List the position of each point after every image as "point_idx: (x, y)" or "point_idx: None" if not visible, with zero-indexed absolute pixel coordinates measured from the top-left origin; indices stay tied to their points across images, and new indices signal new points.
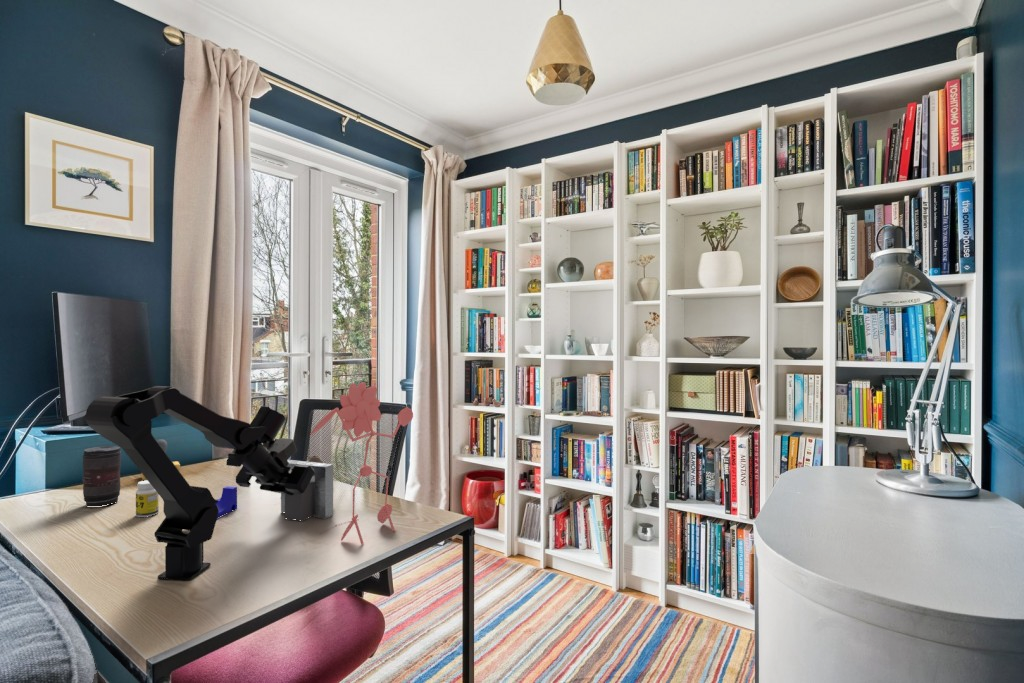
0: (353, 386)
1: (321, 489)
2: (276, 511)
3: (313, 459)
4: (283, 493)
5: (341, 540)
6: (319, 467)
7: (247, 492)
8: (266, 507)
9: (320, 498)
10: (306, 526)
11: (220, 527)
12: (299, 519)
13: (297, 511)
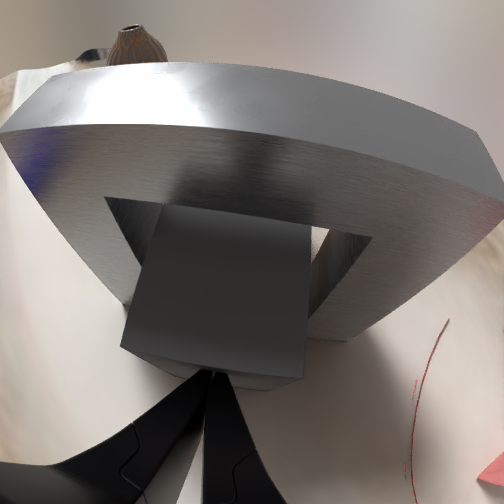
0: None
1: (386, 294)
2: (98, 288)
3: (130, 35)
4: (188, 467)
5: (479, 477)
6: (464, 195)
7: (3, 166)
8: (55, 254)
9: (357, 313)
10: (318, 432)
11: (11, 448)
12: (255, 389)
13: (245, 385)
